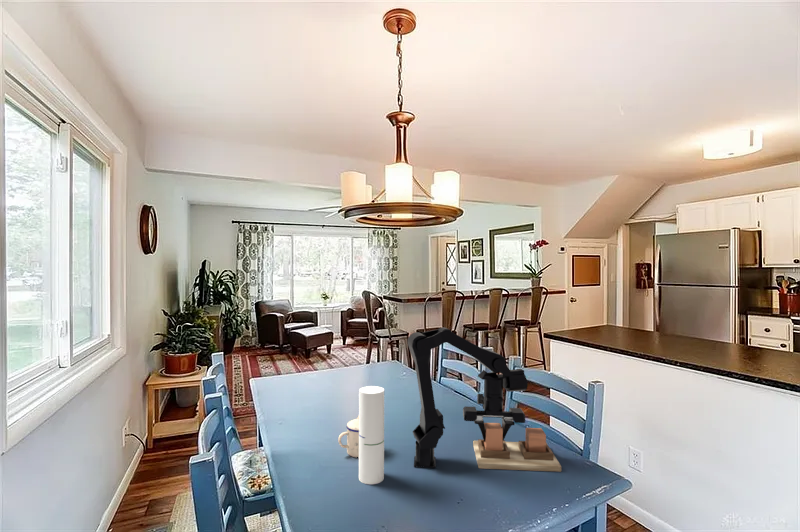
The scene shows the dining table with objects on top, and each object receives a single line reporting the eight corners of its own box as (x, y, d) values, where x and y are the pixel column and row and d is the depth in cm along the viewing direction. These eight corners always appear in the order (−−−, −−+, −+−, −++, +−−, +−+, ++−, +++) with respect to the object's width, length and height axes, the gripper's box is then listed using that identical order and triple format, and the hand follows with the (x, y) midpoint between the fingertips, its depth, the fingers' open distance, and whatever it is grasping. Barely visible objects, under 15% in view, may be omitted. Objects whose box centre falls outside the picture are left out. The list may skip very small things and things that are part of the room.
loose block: (502, 451, 128) (502, 429, 128) (486, 451, 129) (486, 428, 129) (499, 444, 133) (500, 423, 133) (484, 444, 134) (484, 422, 134)
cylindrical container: (370, 468, 123) (371, 384, 123) (389, 476, 118) (389, 389, 118) (353, 478, 117) (353, 390, 117) (371, 487, 113) (372, 395, 113)
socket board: (561, 471, 122) (561, 442, 122) (478, 468, 124) (478, 439, 123) (546, 447, 138) (546, 422, 138) (473, 444, 139) (473, 419, 139)
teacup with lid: (368, 443, 140) (368, 409, 140) (379, 454, 132) (379, 418, 132) (333, 450, 135) (334, 415, 135) (343, 463, 126) (343, 424, 126)
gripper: (518, 385, 138) (517, 432, 138) (461, 384, 140) (461, 430, 140) (525, 396, 127) (525, 447, 127) (464, 394, 129) (464, 444, 129)
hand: (493, 441), depth 131 cm, fingers closed on loose block, 5 cm apart
